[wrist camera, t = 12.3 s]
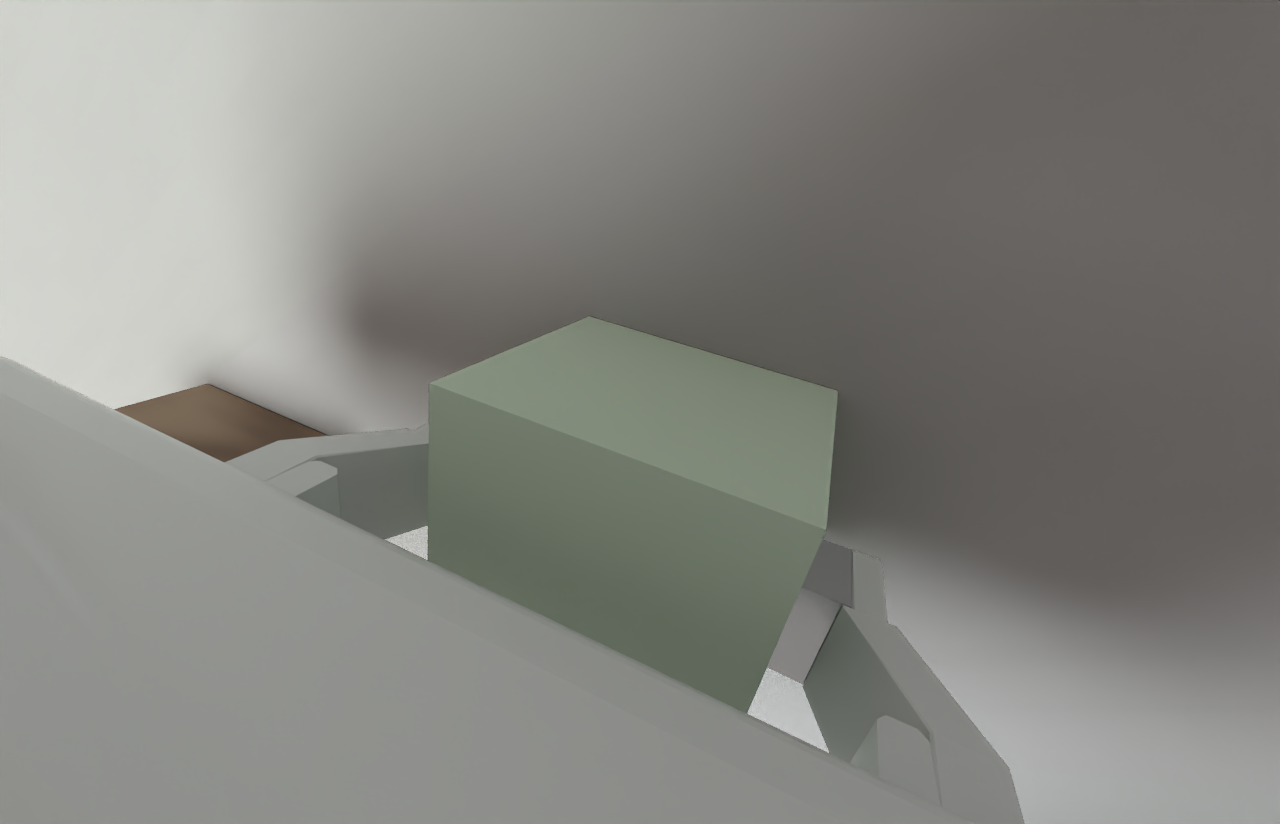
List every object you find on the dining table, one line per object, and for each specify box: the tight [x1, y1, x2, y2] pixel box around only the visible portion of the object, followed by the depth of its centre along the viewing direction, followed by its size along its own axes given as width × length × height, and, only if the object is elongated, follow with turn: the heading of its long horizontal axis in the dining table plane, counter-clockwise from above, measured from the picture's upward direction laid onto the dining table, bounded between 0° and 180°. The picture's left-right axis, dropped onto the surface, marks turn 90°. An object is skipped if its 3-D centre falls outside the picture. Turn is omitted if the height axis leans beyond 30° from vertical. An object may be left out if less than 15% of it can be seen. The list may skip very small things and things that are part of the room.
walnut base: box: [114, 384, 327, 462], centre depth 17 cm, size 7×7×4 cm
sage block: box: [428, 316, 838, 714], centre depth 10 cm, size 6×6×5 cm
